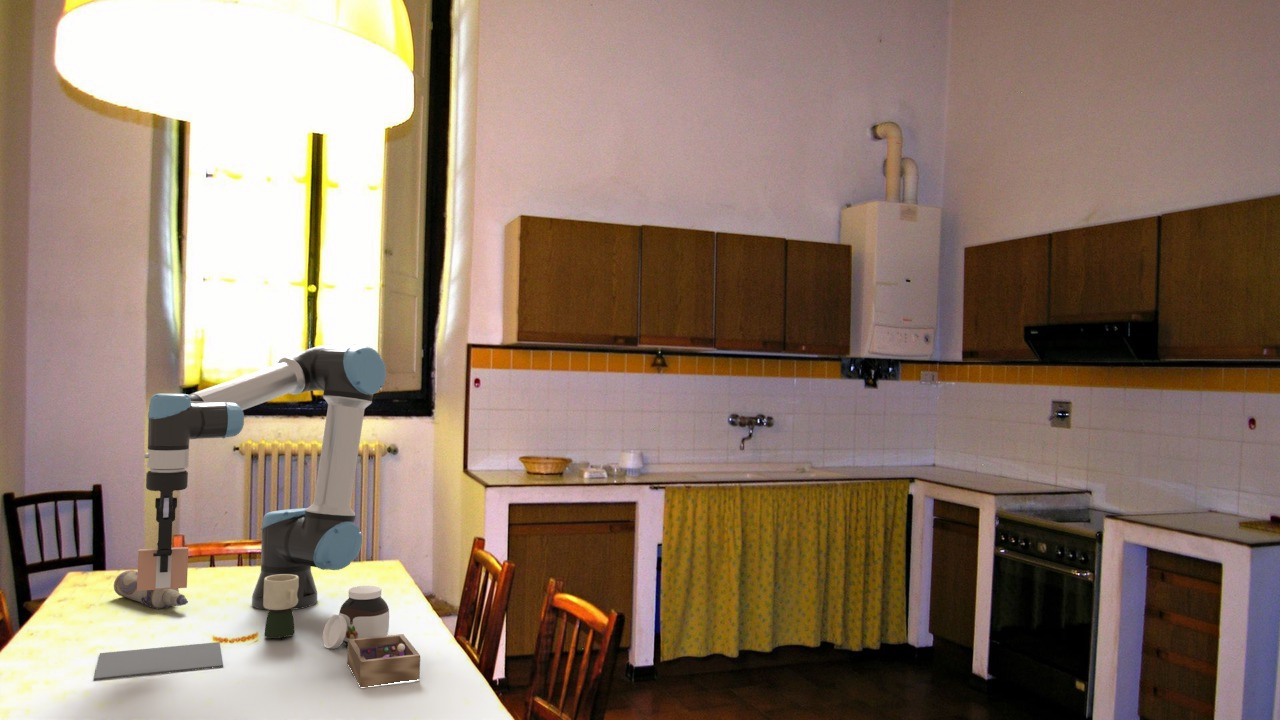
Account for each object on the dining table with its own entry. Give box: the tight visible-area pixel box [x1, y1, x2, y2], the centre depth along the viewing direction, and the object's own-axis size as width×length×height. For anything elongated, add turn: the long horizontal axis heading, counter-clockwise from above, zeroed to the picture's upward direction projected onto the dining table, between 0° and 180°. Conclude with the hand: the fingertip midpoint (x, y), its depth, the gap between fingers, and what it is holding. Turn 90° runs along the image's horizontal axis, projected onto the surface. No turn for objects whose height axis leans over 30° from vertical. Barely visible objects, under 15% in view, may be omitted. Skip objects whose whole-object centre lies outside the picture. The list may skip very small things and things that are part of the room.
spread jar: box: [322, 585, 390, 650], centre depth 201 cm, size 12×11×12 cm
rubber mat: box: [93, 641, 224, 681], centre depth 187 cm, size 22×16×1 cm
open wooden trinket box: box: [346, 633, 421, 688], centre depth 184 cm, size 11×15×5 cm
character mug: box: [263, 574, 299, 639], centre depth 205 cm, size 11×7×13 cm, turn 49°
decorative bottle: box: [113, 570, 189, 610], centre depth 227 cm, size 26×8×7 cm, turn 56°
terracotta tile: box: [137, 546, 189, 591], centre depth 190 cm, size 9×2×8 cm, turn 116°
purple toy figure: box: [360, 642, 406, 660], centre depth 182 cm, size 7×5×9 cm
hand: (163, 586), depth 190 cm, fingers closed on terracotta tile, 2 cm apart
